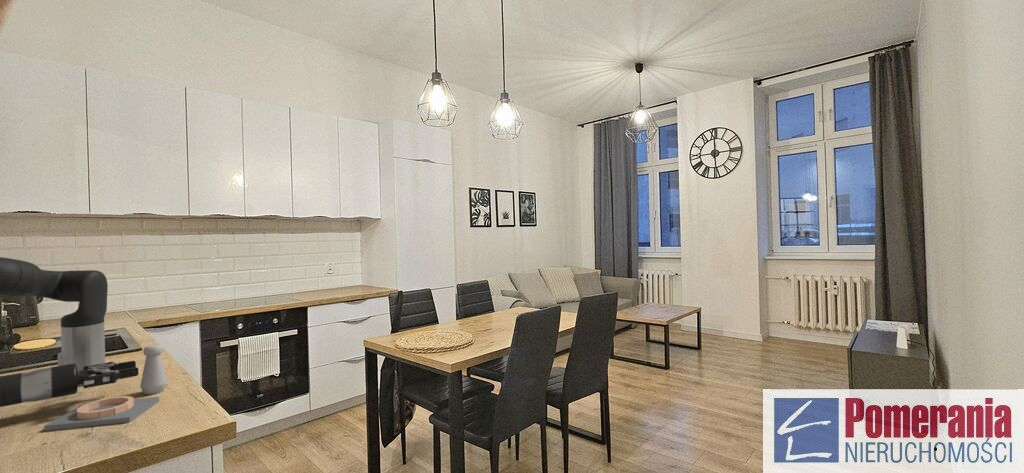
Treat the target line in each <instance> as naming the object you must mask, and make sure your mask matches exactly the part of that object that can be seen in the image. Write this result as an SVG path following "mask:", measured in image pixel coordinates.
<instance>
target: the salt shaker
mask: <svg viewBox="0 0 1024 473" xmlns="http://www.w3.org/2000/svg"><path fill="white" fill-rule="evenodd" d="M142 351H143V352H142V353H143V355H144V356H145V361H144V364H143V365H144V367H143V371H142V377H141V381H140V389H141V391H142V392H143V394H144V395H155V394H159V393H162V392H163V391H165V389H166V386H167V384H168V379H167V375H166V372H165V367H164V362H163V358H162V354H161V353H163V352H164V346H163V345H162V344H158V343H155V344H150V345H146V346H145V347H144V348H143V350H142Z"/></svg>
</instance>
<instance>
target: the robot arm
mask: <svg viewBox="0 0 1024 473" xmlns="http://www.w3.org/2000/svg"><path fill="white" fill-rule="evenodd" d="M108 287H109V285H108V279H107V277H106V275H105V274H104V272H102V271H100V270H94V269H93V270H89V269H88V270H87V269H86V270H66V271H65V270H62V271H60V270H47V269H46V270H45V269H41V267H39V266H37V265H36V264H35V263H32V262H29V261H25V260H21V259H15V258H8V257H2V256H0V296H1V297H2V296H3V297H31V296H33V297H41V298H44V299H51V300H54V301H60V302H67V303H70V302H71V303H73V302H75V303H76V302H78V308H77V309H76V310H75V311H74V312H72V313H69V314H65V315H64V316H62V317H61V318H60V338H61V340H60V341H61V343H60V344H61V346H60V348H61V349H60V350H61V351H60V352H59V353H57V366H56V365H55V366H50V367H44V368H37V369H32V370H30V371H24V372H19V373H18V372H17V373H13V374H6V375H1V376H0V408H2V407H7V406H13V405H17V404H22V403H31V402H32V403H33V402H39V401H44V400H50V399H55V398H61V397H66V396H71V395H75V394H77V393H78V390H79V389H78V388H79V386H82V387H83V389H89V388H93V387H99V386H105V385H111V384H115V383H117V382H118V381H119V380H123V379H128V378H134V377H137V376H139V368H138V367H137V362H136V360H129V361H123V362H118V363H117V362H114V361H108V362H106V343H105V342H106V341H105V340H106V339H105V334H106V333H105V316H106V313H107V308H108V293H109V292H108V290H109V289H108Z"/></svg>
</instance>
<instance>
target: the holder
mask: <svg viewBox="0 0 1024 473" xmlns="http://www.w3.org/2000/svg"><path fill="white" fill-rule="evenodd" d="M159 402H160V397H159V396H154V397H153V396H151V397H144V398H134V397H133V396H128V395H122V396H110V397H107V398H101V399H98V400H97V399H96V400H94V401H90V402H88V403H84V404H81V405H80V406H77V407H76V408H74V409H72V410H71V411H68V412H67V413H65V414H63V415H61V416H60V417H58V418H56V419H55V420H52V421H51V422H50V421H49V423H47V424H45V425H44V426H43V427H44V428H43V429H44V432H50V431H59V430H61V431H62V430H67V429H77V428H78V429H79V428H88V427H97V426H108V425H119V424H126V423H128V424H129V423H131V422H132V421H133V420H135V419H137V418H138V417H139V416H140V415H142V414H143V413H145V412H146V411H148V410H149V409H151V408H152V407H154V406H155V405H156V404H158V403H159Z"/></svg>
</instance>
